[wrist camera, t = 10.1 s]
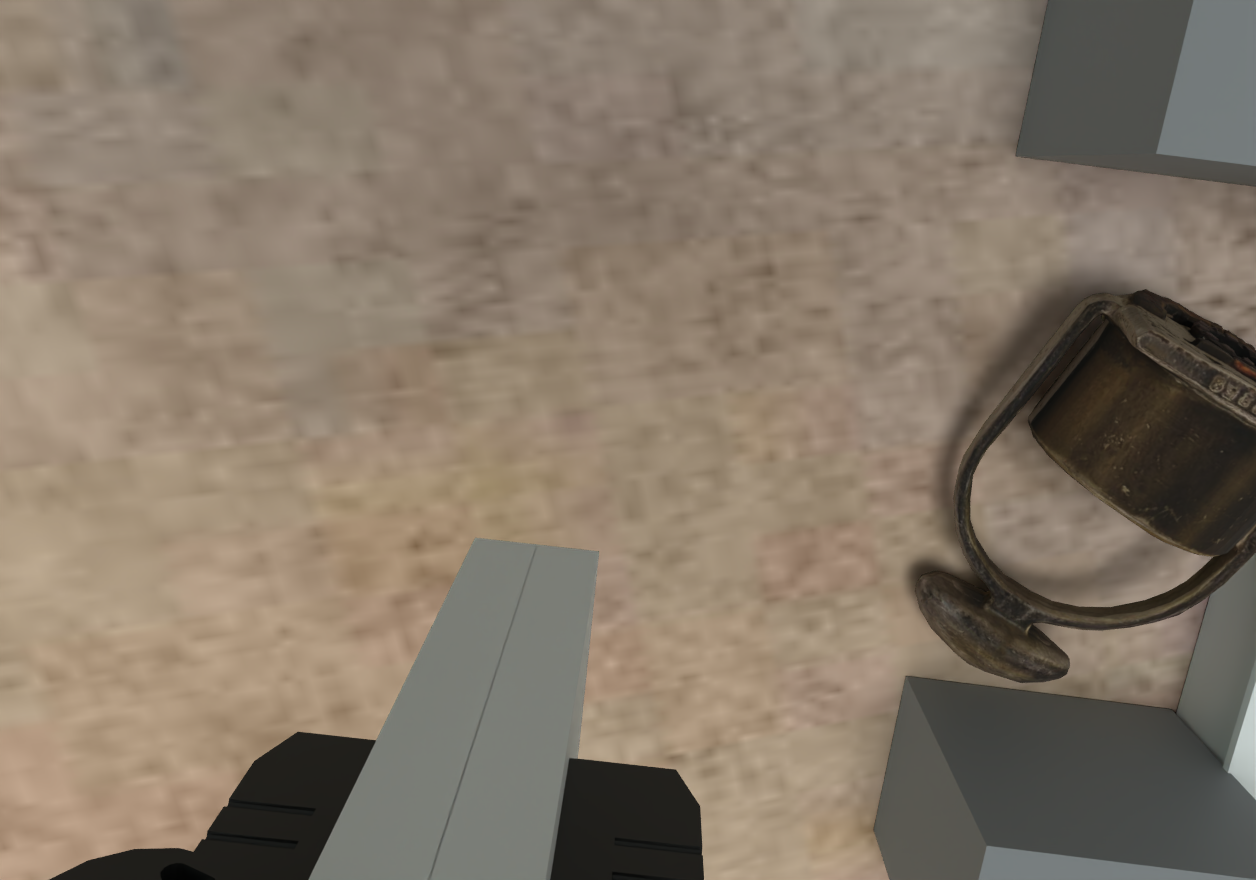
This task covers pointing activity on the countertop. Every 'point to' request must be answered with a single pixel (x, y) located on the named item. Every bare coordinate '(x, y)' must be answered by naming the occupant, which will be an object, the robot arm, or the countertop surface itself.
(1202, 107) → the rail bench
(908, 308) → the countertop surface
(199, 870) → the robot arm
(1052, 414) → the dark metal piece
